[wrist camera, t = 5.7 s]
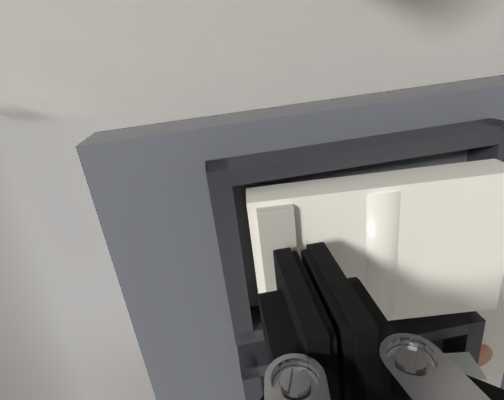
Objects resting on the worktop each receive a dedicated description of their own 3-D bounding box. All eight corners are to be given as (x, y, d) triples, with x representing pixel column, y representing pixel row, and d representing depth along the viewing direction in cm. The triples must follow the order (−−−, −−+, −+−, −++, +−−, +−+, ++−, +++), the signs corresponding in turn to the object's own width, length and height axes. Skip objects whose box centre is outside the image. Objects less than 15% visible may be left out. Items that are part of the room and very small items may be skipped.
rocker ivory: (491, 156, 13) (532, 174, 11) (471, 283, 15) (502, 315, 13) (245, 186, 13) (246, 207, 11) (261, 306, 15) (264, 341, 13)
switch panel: (539, 70, 16) (639, 73, 12) (481, 369, 24) (533, 427, 20) (95, 132, 14) (60, 157, 11) (183, 433, 22) (180, 510, 18)
